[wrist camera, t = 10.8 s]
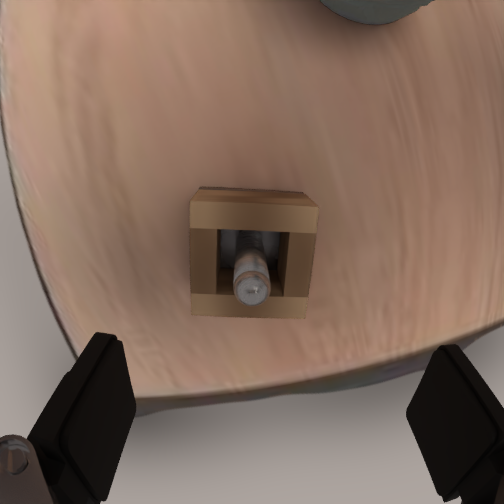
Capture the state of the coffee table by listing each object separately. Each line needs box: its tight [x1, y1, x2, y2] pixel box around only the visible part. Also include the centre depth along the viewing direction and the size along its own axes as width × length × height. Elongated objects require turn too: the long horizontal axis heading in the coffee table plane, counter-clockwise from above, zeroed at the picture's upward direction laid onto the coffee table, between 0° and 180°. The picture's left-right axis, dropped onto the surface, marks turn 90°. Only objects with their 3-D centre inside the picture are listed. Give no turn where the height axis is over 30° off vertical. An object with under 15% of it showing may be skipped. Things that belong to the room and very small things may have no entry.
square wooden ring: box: [190, 189, 319, 319], centre depth 20 cm, size 7×7×4 cm
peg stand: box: [199, 187, 304, 306], centre depth 19 cm, size 7×7×9 cm
